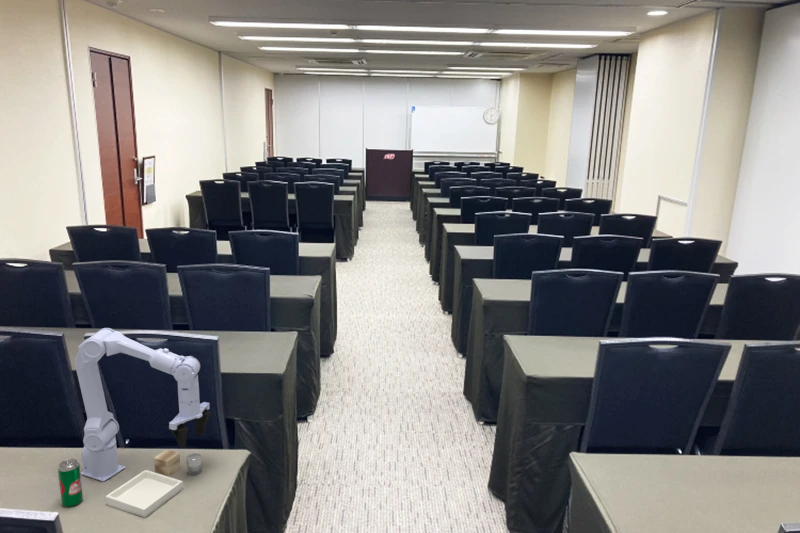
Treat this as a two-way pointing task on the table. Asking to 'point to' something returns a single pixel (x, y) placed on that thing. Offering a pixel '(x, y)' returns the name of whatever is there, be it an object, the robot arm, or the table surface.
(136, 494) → the tray
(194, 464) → the metal canister
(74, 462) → the soda can
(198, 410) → the robot arm
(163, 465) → the birch block
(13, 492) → the table surface
